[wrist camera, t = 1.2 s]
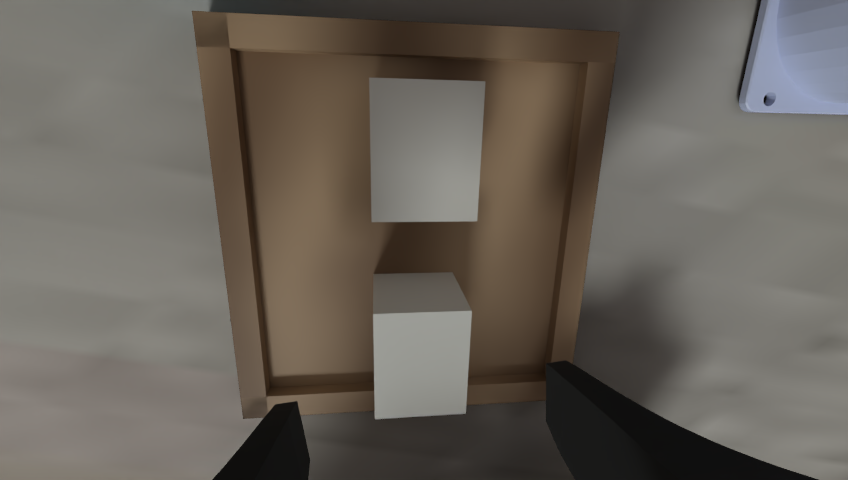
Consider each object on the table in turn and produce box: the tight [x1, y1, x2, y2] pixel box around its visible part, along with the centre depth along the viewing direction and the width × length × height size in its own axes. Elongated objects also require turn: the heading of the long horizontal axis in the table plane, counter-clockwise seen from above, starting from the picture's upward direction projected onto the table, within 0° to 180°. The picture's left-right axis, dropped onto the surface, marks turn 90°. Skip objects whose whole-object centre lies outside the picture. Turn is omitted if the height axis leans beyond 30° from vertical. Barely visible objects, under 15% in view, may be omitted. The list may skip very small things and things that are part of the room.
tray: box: [192, 11, 620, 419], centre depth 16 cm, size 14×15×1 cm
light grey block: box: [373, 272, 472, 419], centre depth 15 cm, size 3×4×4 cm
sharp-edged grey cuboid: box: [369, 78, 485, 222], centre depth 13 cm, size 3×4×4 cm
